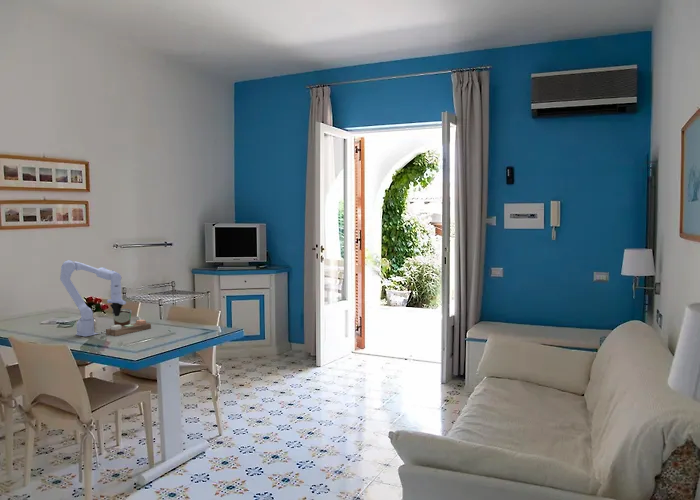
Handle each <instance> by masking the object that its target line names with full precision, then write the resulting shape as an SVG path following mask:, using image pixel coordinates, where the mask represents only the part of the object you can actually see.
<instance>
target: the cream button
mask: <svg viewBox="0 0 700 500" xmlns="http://www.w3.org/2000/svg"><path fill="white" fill-rule="evenodd" d="M110 328H111V330H118V329H121V325H110Z"/></svg>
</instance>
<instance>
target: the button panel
mask: <svg viewBox="0 0 700 500" xmlns="http://www.w3.org/2000/svg"><path fill="white" fill-rule="evenodd" d="M130 325H134V326H133V327H124V326H121V329H118V330H111V327H110V328H106V329H105V335H106V336H113V337H118V336H123V335H127V334H128V335H129V334H133V333H136V332H141V331H145V330H149V329H152V323H150V322H149V323H148V322H146V324H142V325H138V324H136V322H135V323H134V322H133V323H130Z"/></svg>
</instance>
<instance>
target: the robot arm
mask: <svg viewBox="0 0 700 500" xmlns="http://www.w3.org/2000/svg"><path fill="white" fill-rule="evenodd" d="M80 270H82V271H85V272H89V273H92V274H95V275H96V277H97V278H100V279H104V280H107V281H110V299H106V302H107V304H109V306H110V307H111V309H112V310H113V312H114V315H115V316H119V315H120V310H121V309H123V307H124V306H123V305H127V300H124V299H123V298H122V296H123V295H122V280H123V279H122V275H121V273H119V272H117V271H114V270H113V269H112V270H111V269H107V267H105V266H103V267H99V268H97V267H95V266H92V265H88V264H86V263H83V262H79V261H76V260H75V261H73V260H71V259H68V260H65V261H64V262H63V263H62V265H61V268H60V276H59V277H60V278H59V280H60V282H61V283H62V285H63V287H64V288H65V289H66V292H68V295H69V296H70V297H71V299H72V301H73V302H74V304H75V306H76V307H77V309H78V310H79V314H80V318H79V319H78V320H77V322H76V333H75V336H81V337H89V336H95V335H98V334H99V332H95V319H94V317H93V316H94V312H93V310H92V308H91V307H89V306H88V305H87V304H86V302H85V300H84V299H83V297H82V296H81V294H80V293H79V291H78V289H77V288H76V286H75V285H74V283H73V282H72V280H71V277H72V274H73V273H74V272H75V271H80Z"/></svg>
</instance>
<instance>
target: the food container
mask: <svg viewBox="0 0 700 500" xmlns="http://www.w3.org/2000/svg"><path fill="white" fill-rule="evenodd" d="M132 313H133V312H132V309H131V308H121V310H120V315H119V316H115V315H114V312H113V309H112V311H111V314H112V317H113V324H114V325H121V326H125V325H129V324H131V319H132V318H131V316H132Z"/></svg>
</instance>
